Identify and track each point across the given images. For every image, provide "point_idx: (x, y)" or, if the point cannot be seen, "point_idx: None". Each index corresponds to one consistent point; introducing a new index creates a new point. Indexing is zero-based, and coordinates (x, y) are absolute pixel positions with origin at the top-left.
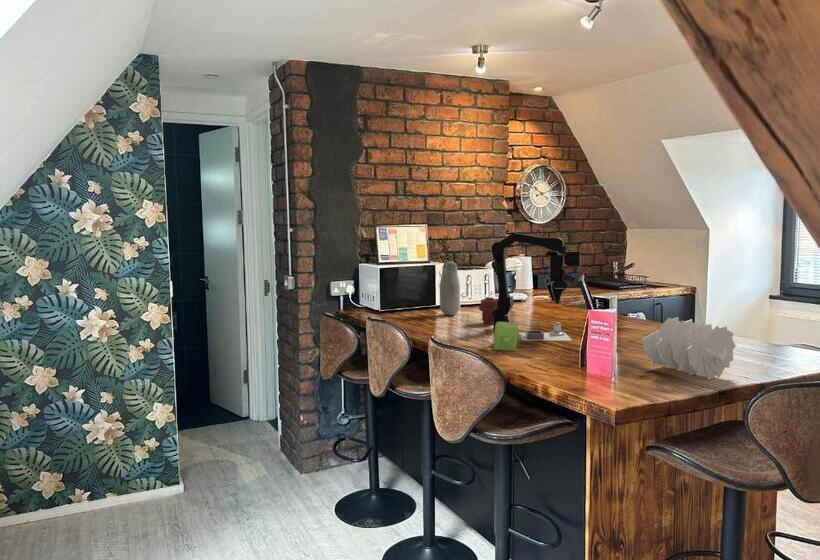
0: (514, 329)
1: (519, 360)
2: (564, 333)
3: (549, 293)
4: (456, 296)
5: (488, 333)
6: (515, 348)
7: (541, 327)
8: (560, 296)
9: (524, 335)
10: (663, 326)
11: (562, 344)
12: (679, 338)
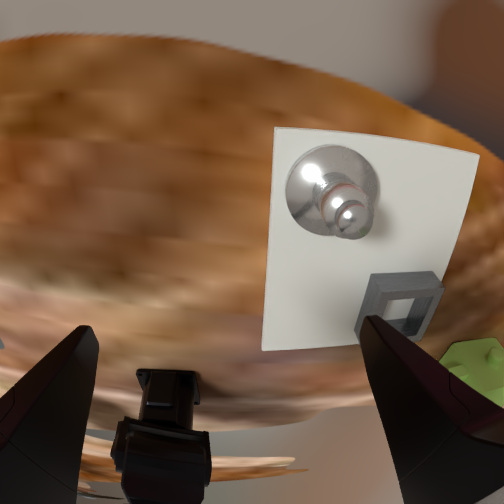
0: None
1: None
2: (361, 155)
3: (76, 438)
4: None
5: (245, 410)
6: (497, 341)
7: (60, 238)
8: (452, 374)
9: (331, 333)
10: None
11: (496, 208)
12: None
